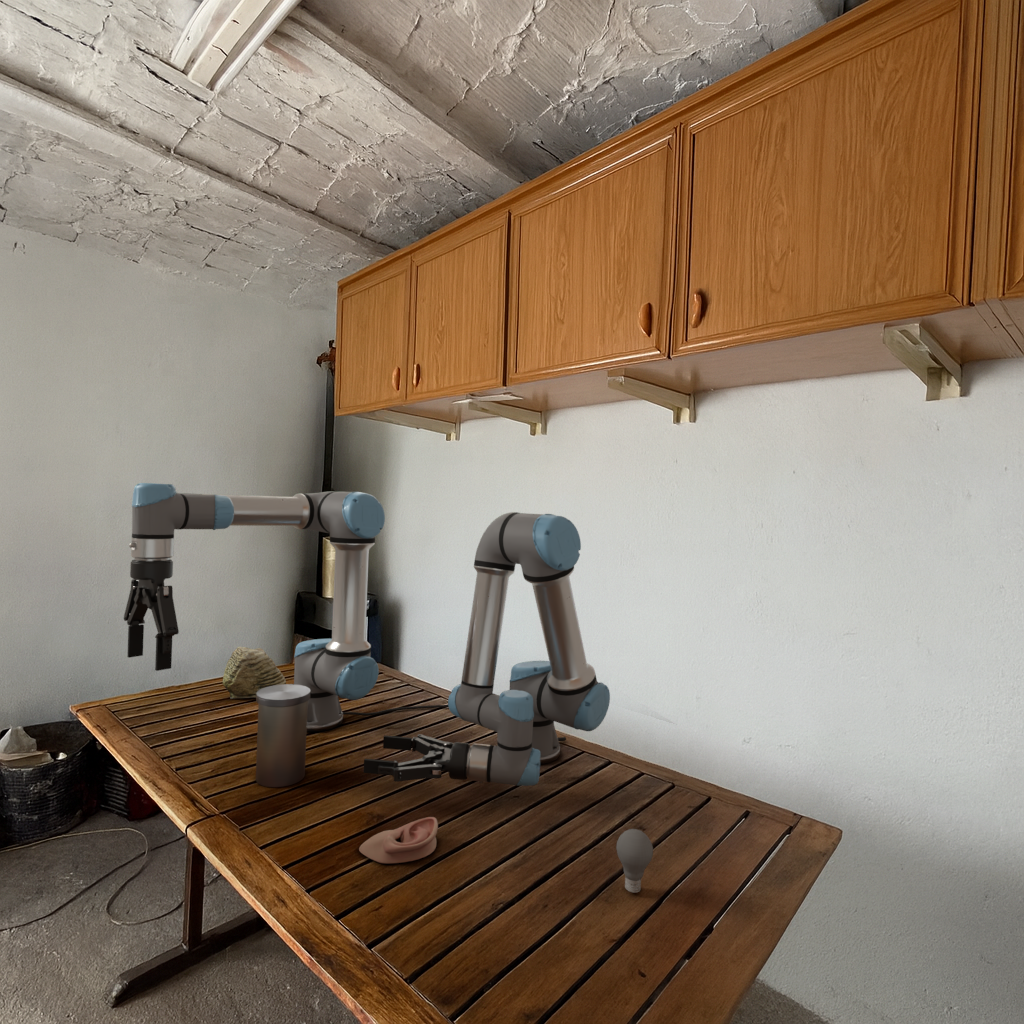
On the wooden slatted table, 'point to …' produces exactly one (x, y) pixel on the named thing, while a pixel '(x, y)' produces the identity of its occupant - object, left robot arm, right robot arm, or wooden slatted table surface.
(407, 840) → the anatomical model
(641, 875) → the light bulb
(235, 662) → the fossil
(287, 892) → the wooden slatted table surface
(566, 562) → the right robot arm
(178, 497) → the left robot arm
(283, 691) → the lid
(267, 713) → the jar
